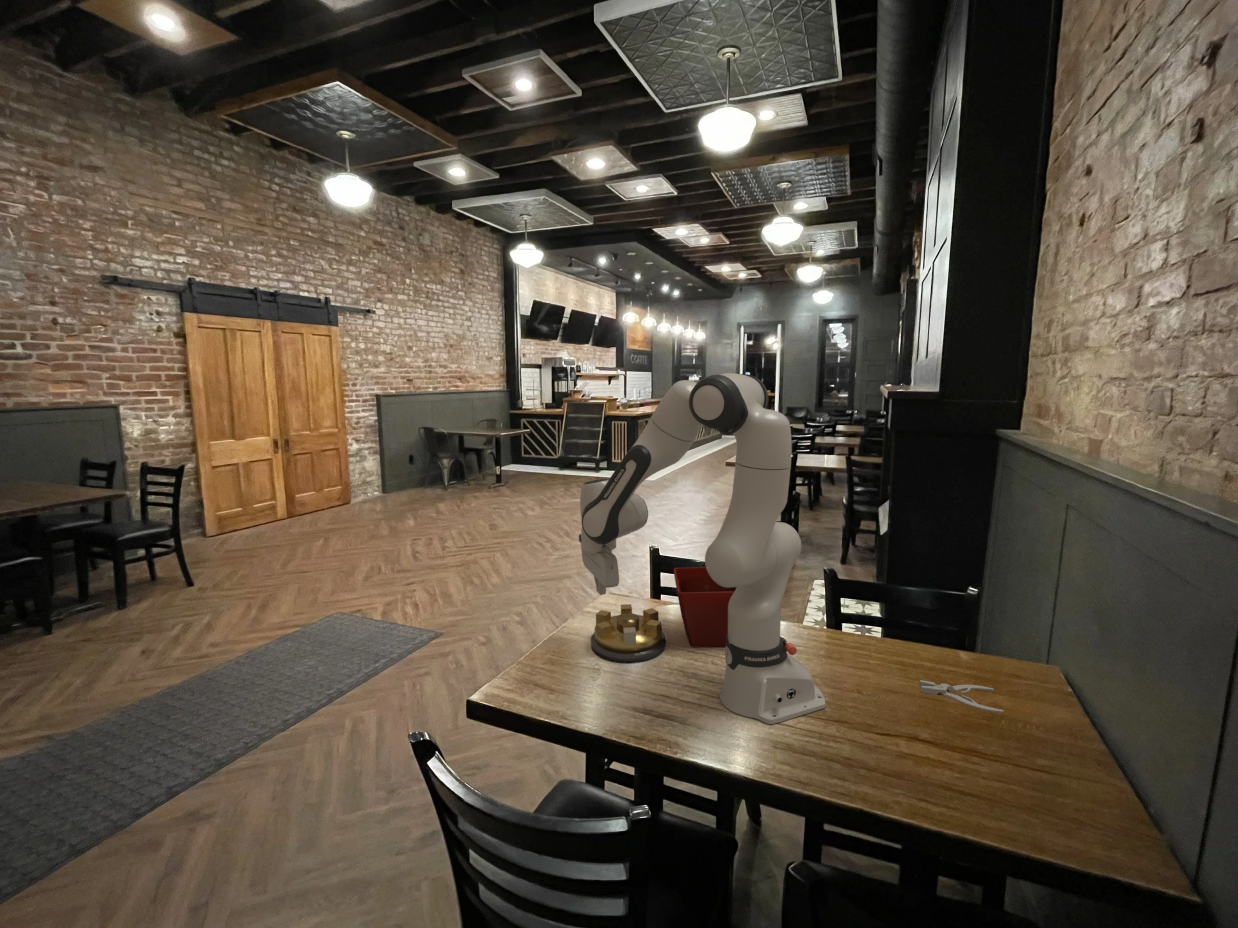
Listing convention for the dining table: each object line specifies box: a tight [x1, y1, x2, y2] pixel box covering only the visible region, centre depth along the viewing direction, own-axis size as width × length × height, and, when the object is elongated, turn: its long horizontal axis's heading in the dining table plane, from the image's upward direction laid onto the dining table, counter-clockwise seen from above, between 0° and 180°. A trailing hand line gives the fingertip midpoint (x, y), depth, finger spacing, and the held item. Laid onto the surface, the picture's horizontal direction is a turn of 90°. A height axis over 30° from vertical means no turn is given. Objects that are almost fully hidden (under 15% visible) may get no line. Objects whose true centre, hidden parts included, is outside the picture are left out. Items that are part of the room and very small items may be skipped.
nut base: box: [590, 631, 667, 664], centre depth 151 cm, size 20×20×2 cm
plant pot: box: [673, 566, 737, 648], centre depth 153 cm, size 19×19×17 cm
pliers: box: [918, 679, 1004, 714], centre depth 124 cm, size 10×2×15 cm
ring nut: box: [593, 603, 663, 653], centre depth 150 cm, size 18×18×6 cm
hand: (601, 592), depth 146 cm, fingers closed
